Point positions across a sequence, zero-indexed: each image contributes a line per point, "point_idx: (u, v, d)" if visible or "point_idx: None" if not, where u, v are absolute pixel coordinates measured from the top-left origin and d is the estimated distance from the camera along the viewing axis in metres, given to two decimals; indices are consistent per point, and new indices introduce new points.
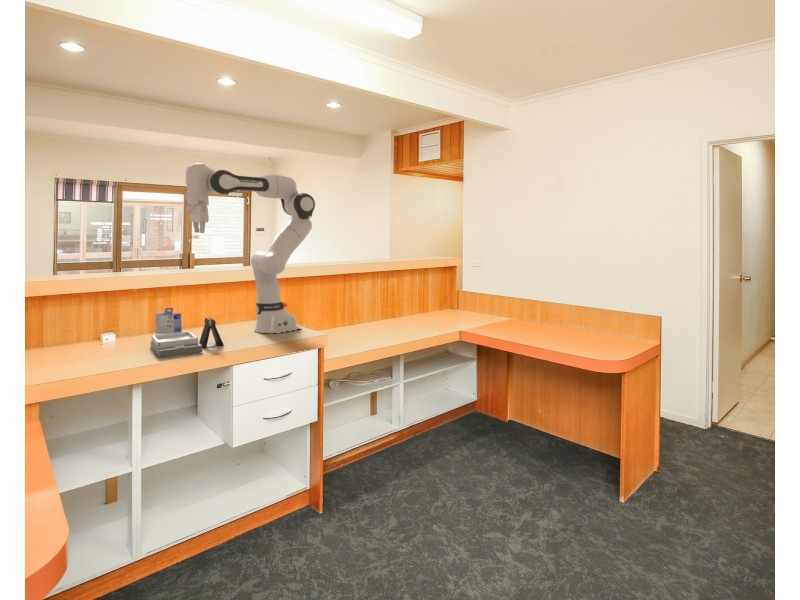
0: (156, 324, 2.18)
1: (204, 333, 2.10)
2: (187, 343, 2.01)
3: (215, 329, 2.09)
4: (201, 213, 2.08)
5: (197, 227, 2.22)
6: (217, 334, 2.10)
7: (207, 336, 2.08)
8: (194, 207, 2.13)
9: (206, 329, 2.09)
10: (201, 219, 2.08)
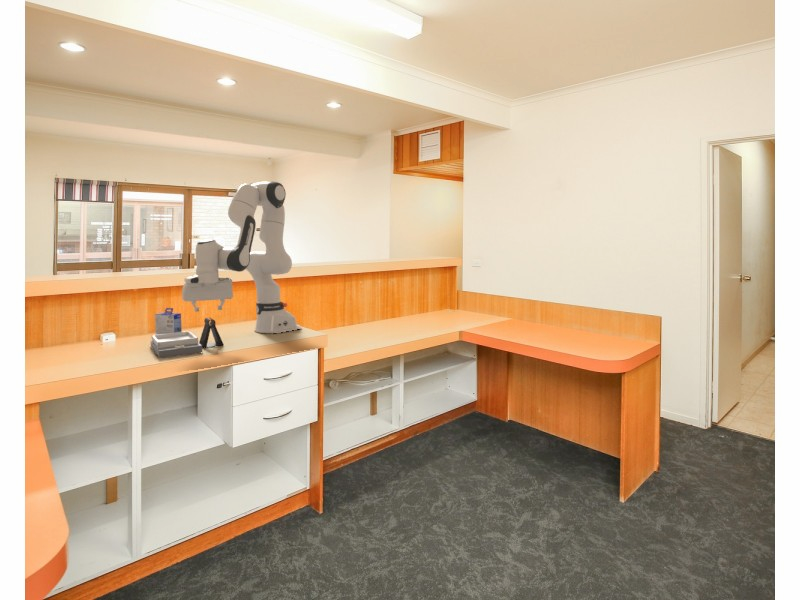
0: (156, 324, 2.18)
1: (204, 333, 2.10)
2: (187, 343, 2.01)
3: (215, 329, 2.09)
4: None
5: (195, 305, 2.06)
6: (217, 334, 2.10)
7: (207, 336, 2.08)
8: (214, 285, 2.07)
9: (206, 329, 2.09)
10: (232, 296, 2.13)
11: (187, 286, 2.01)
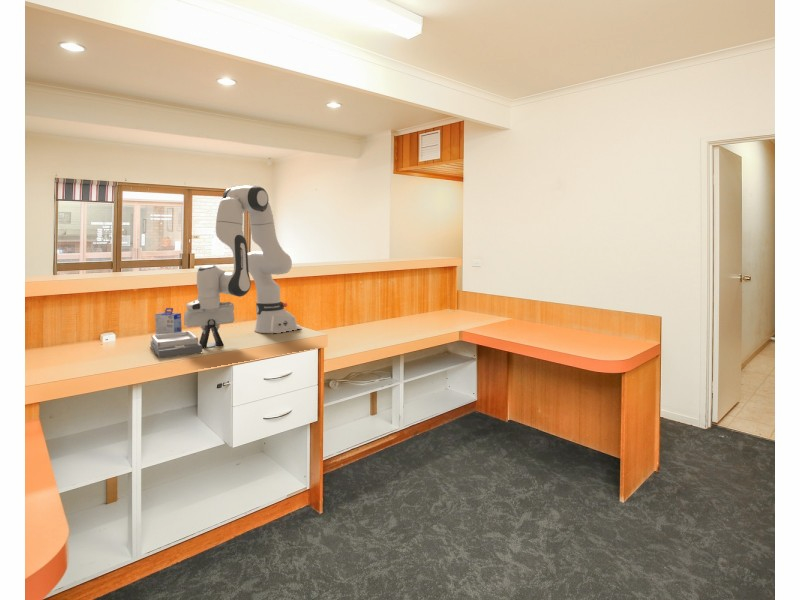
0: (156, 324, 2.18)
1: None
2: (187, 343, 2.01)
3: (215, 329, 2.09)
4: None
5: (204, 330, 2.10)
6: (217, 334, 2.10)
7: (207, 336, 2.08)
8: (216, 310, 2.09)
9: (206, 329, 2.09)
10: (234, 319, 2.15)
11: (189, 312, 2.03)
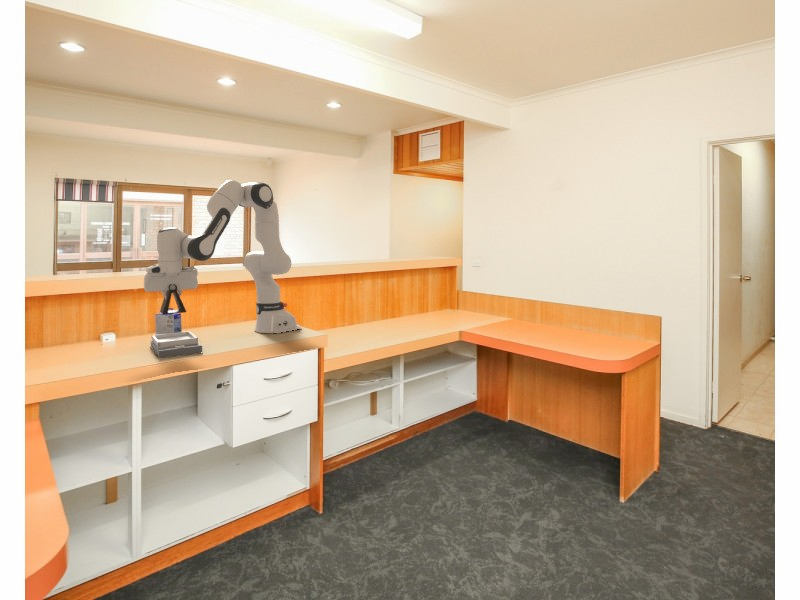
0: (156, 324, 2.18)
1: (165, 299, 2.01)
2: (187, 343, 2.01)
3: (177, 294, 2.00)
4: None
5: None
6: (179, 300, 2.01)
7: (168, 301, 1.99)
8: (178, 274, 2.00)
9: (167, 294, 2.00)
10: (197, 285, 2.06)
11: (148, 276, 1.94)
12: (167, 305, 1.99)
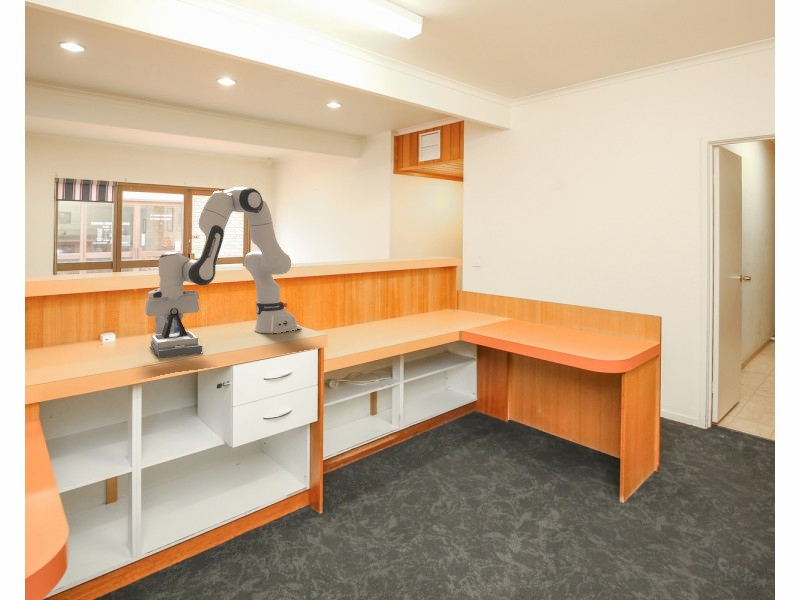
0: (156, 324, 2.18)
1: (166, 323, 2.02)
2: (187, 343, 2.01)
3: (178, 318, 2.02)
4: None
5: (167, 319, 2.03)
6: (180, 324, 2.03)
7: (169, 326, 2.00)
8: (179, 298, 2.02)
9: (169, 318, 2.01)
10: None
11: (150, 301, 1.95)
12: (168, 329, 2.00)
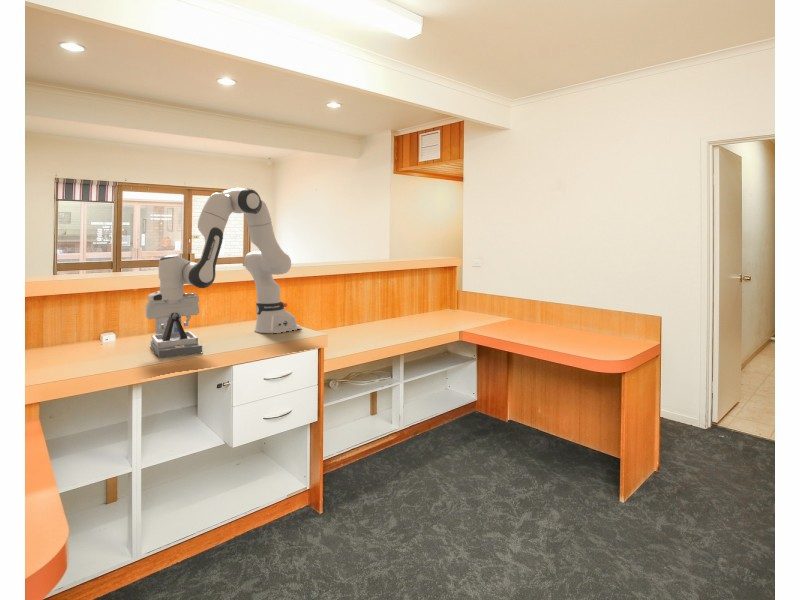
0: (156, 324, 2.18)
1: (167, 327, 2.03)
2: (187, 343, 2.01)
3: (179, 323, 2.02)
4: None
5: (160, 323, 2.01)
6: (181, 328, 2.03)
7: (170, 330, 2.01)
8: (179, 301, 2.02)
9: (169, 323, 2.02)
10: None
11: (150, 304, 1.96)
12: (169, 334, 2.01)
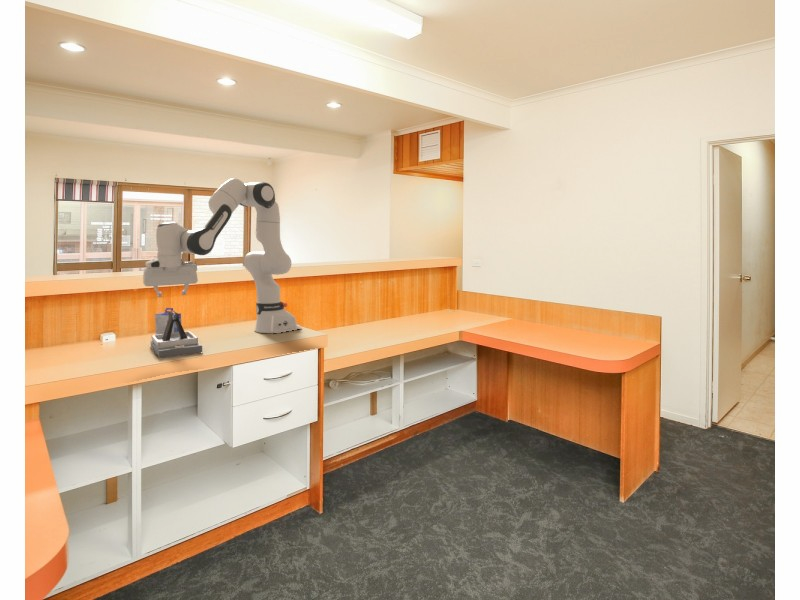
0: (156, 324, 2.18)
1: (167, 327, 2.03)
2: (187, 343, 2.01)
3: (179, 323, 2.02)
4: None
5: (158, 291, 1.99)
6: (181, 328, 2.03)
7: (170, 330, 2.01)
8: (177, 269, 2.00)
9: (169, 323, 2.02)
10: None
11: (148, 270, 1.93)
12: (169, 334, 2.01)
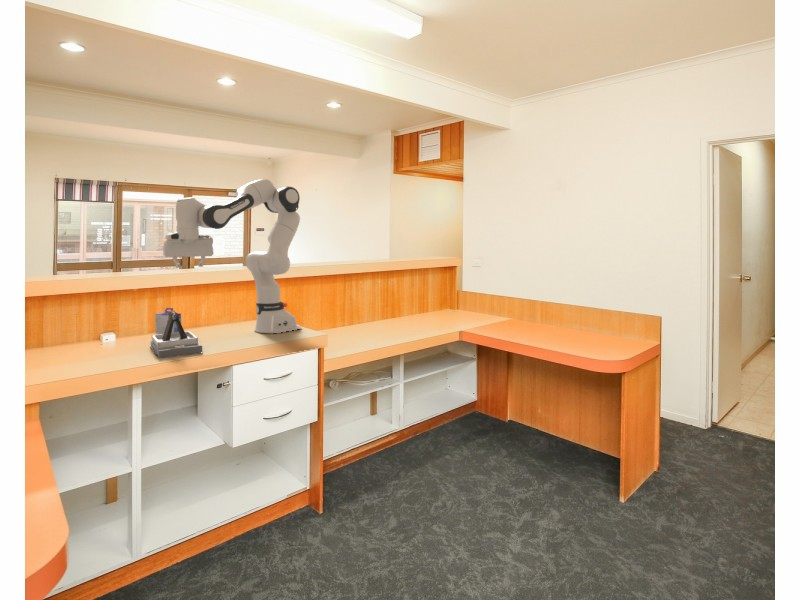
0: (156, 324, 2.18)
1: (167, 327, 2.03)
2: (187, 343, 2.01)
3: (179, 323, 2.02)
4: None
5: (176, 262, 2.13)
6: (181, 328, 2.03)
7: (170, 330, 2.01)
8: (195, 242, 2.14)
9: (169, 323, 2.02)
10: None
11: (168, 242, 2.07)
12: (169, 334, 2.01)
